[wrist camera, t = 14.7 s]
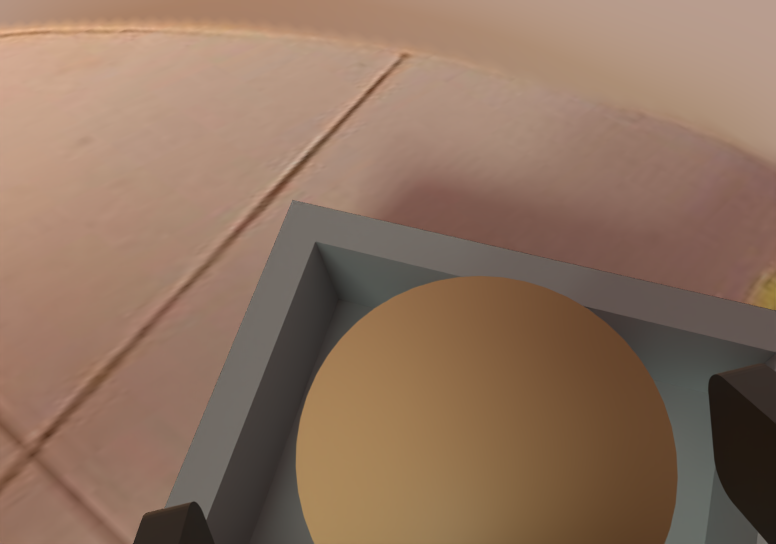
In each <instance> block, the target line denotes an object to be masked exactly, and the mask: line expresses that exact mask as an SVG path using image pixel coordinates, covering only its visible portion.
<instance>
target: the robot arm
mask: <svg viewBox="0 0 776 544" xmlns="http://www.w3.org/2000/svg"><path fill="white" fill-rule="evenodd" d="M708 394H709V406H710V417H711V429H712V440H713V452H714V462H715V467H716V471H717V474H718V477H719V480H720V482H721V484H722V486H723V489H724V491H725V492H726V494H727V496H728V497H729V499H730V500H731V501H732V503H733V504H734V505H735V506H736V507H737V508H738V510H739V511H740V512H741V513H742V514H743V515H744V517H745V518H746V519H747V520H748V521H749V522H750V523H751V525H752V526H753V527H754V528H755V529H756V530H757V531H758V533H759V534H760V535H761V536H762V537H763V538H764V540H765V541H766V542H767V543H768V544H776V372H775V371H774V370H773V369H772V368H770V367H769V366H767V365H766V364H763V363H758V364H754V365H750V366H746V367H742V368H738V369H734V370H730V371H726V372H722V373H718V374H714V375H712V376H711V377H710V379H709V383H708ZM133 544H215V543H214V540H213V538H212V535H211V532H210V530H209V527H208V524H207V522H206V519H205V516H204V514H203V511H202V509H201V507H200V506H199V504H198V503H197V502H195V501H194V502H189V503H185V504H181V505H177V506H173V507H169V508H165V509H161V510H157V511H152V512H148V513H146V514H145V515H144V516H143V518H142V520H141V523H140V526H139V529H138V531H137V534H136V537H135V540H134V543H133Z"/></svg>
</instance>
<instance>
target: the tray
mask: <svg viewBox="0 0 776 544" xmlns="http://www.w3.org/2000/svg"><path fill="white" fill-rule="evenodd" d="M469 276H490V277H504V278H509V279H515V280H520V281H525V282H529V283H532V284H535V285H539V286H542V287H545V288H548V289H550V290H552V291H555V292H557V293H559V294H562V295H564V296H566V297H568V298H570V299H572V300H573V301H575V302H577V303H579V304H580V305H582V306H584V307H585V308H587V309H589V310H590V311H591V312H593V313H594V314H595V315H597V316H598V317H599V318H601V319H602V320H603V321H605V322H606V323H607V324H608V325H609V326H610V327H611V328H612V329H614V330H615V331H616V332H617V333H618V334H619V335H620V336H621V337H622V338H623V339H624V340H625V341H626V342H627V344H628V345H629V346H630V347H631V349H632V350H633V351H634V352H635V353H636V355H637V356H638V357H639V358H640V360H641V361H642V363H643V365H644V366H645V368H646V369H647V371H648V372H649V374H650V376H651V377H652V379H653V380H654V383H655V385H656V387H657V389H658V391H659V393H660V395H661V397H662V400H663V402H664V404H665V407H666V410H667V414H668V417H669V420H670V423H671V426H672V431H673V436H674V441H675V447H676V452H677V471H678V482H677V494H676V505H675V509H674V514H673V518H672V522H671V527H670V531H669V533H668V536H667V538H666V541H665V544H768V543H767V542H766V541H765V540H764V538H763V537H762V536H761V535H760V534H759V533H758V531H757V530H756V529H755V528H754V527H753V526H752V525H751V523H750V522H749V521H748V520H747V519H746V518H745V517H744V515H743V514H742V513H741V512H740V511H739V510H738V508H737V507H736V506H735V505H734V504H733V503H732V501H731V500H730V499H729V497H728V496H727V494H726V492H725V491H724V489H723V486H722V484H721V482H720V480H719V477H718V474H717V471H716V467H715V462H714V452H713V440H712V429H711V417H710V406H709V394H708V383H709V379H710V377H711V376H712V375H714V374H718V373H722V372H726V371H730V370H734V369H738V368H742V367H746V366H750V365H754V364H758V363H763V364H766V365H767V366H769V367H770V368H772V369H773V370H774V371H775V372H776V311H775V310H771V309H766V308H762V307H758V306H753V305H749V304H745V303H740V302H736V301H731V300H727V299H723V298H718V297H714V296H710V295H705V294H701V293H696V292H692V291H688V290H683V289H679V288H675V287H670V286H666V285H662V284H657V283H653V282H648V281H644V280H640V279H635V278H631V277H627V276H622V275H618V274H614V273H609V272H605V271H600V270H596V269H592V268H587V267H583V266H579V265H574V264H570V263H565V262H561V261H557V260H552V259H548V258H544V257H539V256H535V255H531V254H526V253H522V252H517V251H513V250H509V249H504V248H500V247H496V246H491V245H487V244H483V243H478V242H474V241H469V240H465V239H461V238H456V237H452V236H448V235H443V234H439V233H434V232H430V231H426V230H421V229H417V228H413V227H408V226H404V225H400V224H395V223H391V222H386V221H382V220H378V219H373V218H369V217H365V216H360V215H356V214H352V213H347V212H343V211H338V210H334V209H330V208H325V207H321V206H317V205H312V204H308V203H303V202H299V201H295V200H292V203H291V205H290V207H289V210H288V212H287V215H286V217H285V219H284V222H283V224H282V227H281V229H280V232H279V234H278V236H277V239H276V241H275V244H274V246H273V248H272V251H271V253H270V256H269V258H268V260H267V263H266V265H265V268H264V270H263V272H262V275H261V277H260V280H259V282H258V284H257V287H256V289H255V292H254V294H253V296H252V299H251V301H250V304H249V306H248V308H247V311H246V313H245V316H244V318H243V321H242V323H241V325H240V328H239V330H238V333H237V335H236V337H235V340H234V342H233V345H232V347H231V349H230V352H229V354H228V357H227V359H226V361H225V364H224V366H223V369H222V371H221V373H220V376H219V378H218V381H217V383H216V385H215V388H214V390H213V393H212V395H211V397H210V400H209V402H208V405H207V407H206V410H205V412H204V414H203V417H202V419H201V422H200V424H199V426H198V429H197V431H196V434H195V436H194V438H193V441H192V443H191V446H190V448H189V450H188V453H187V455H186V458H185V460H184V462H183V465H182V467H181V470H180V472H179V474H178V477H177V479H176V482H175V484H174V486H173V489H172V491H171V494H170V496H169V499H168V501H167V503H166V506H165V508H169V507H173V506H177V505H181V504H185V503H189V502H194V501H195V502H197V503H198V504H199V506H200V507H201V509H202V511H203V514H204V516H205V519H206V522H207V524H208V527H209V530H210V532H211V535H212V538H213V540H214V543H215V544H314V542H313V540H312V537H311V535H310V532H309V529H308V526H307V524H306V521H305V518H304V515H303V511H302V506H301V502H300V498H299V493H298V485H297V475H296V443H297V436H298V430H299V424H300V418H301V415H302V411H303V408H304V404H305V401H306V398H307V395H308V393H309V390H310V388H311V386H312V383H313V381H314V379H315V377H316V374H317V373H318V371H319V369H320V368H321V366H322V364H323V363H324V361H325V359H326V358H327V356H328V354H329V353H330V352H331V351H332V349H333V348H334V347H335V345H336V344H337V343H338V342H339V340H340V339H341V338H342V337H343V336H344V335H345V334H346V333H347V332H348V331H349V330H350V329H351V328H352V327H353V326H354V325H355V324H356V323H357V322H358V321H359V320H360V319H362V318H363V317H364V316H365V315H367V314H368V313H369V312H371V311H372V310H373V309H374V308H376V307H378V306H379V305H381V304H383V303H384V302H386V301H388V300H389V299H391V298H393V297H394V296H397V295H399V294H401V293H403V292H406V291H408V290H410V289H412V288H415V287H418V286H421V285H425V284H428V283H431V282H434V281H439V280H445V279H450V278H456V277H469ZM165 508H164V509H165Z"/></svg>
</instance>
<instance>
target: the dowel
mask: <svg viewBox="0 0 776 544" xmlns="http://www.w3.org/2000/svg"><path fill="white" fill-rule="evenodd" d="M296 475H297V485H298V493H299V498H300V502H301V506H302V511H303V515H304V518H305V521H306V524H307V526H308V529H309V532H310V535H311V537H312V540H313V542H314V544H665V541H666V538H667V536H668V533H669V531H670V527H671V522H672V518H673V514H674V509H675V505H676V494H677V482H678V471H677V452H676V447H675V441H674V436H673V431H672V426H671V423H670V420H669V417H668V414H667V410H666V407H665V404H664V402H663V400H662V397H661V395H660V393H659V391H658V389H657V387H656V385H655V383H654V380H653V379H652V377H651V376H650V374H649V372H648V371H647V369H646V368H645V366H644V365H643V363H642V361H641V360H640V358H639V357H638V356H637V355H636V353H635V352H634V351H633V350H632V349H631V347H630V346H629V345H628V344H627V342H626V341H625V340H624V339H623V338H622V337H621V336H620V335H619V334H618V333H617V332H616V331H615V330H614V329H612V328H611V327H610V326H609V325H608V324H607V323H606V322H605V321H603V320H602V319H601V318H599V317H598V316H597V315H595V314H594V313H593V312H591V311H590V310H589V309H587V308H585V307H584V306H582V305H580V304H579V303H577V302H575V301H573V300H572V299H570V298H568V297H566V296H564V295H562V294H559V293H557V292H555V291H552V290H550V289H548V288H545V287H542V286H539V285H535V284H532V283H529V282H525V281H520V280H515V279H509V278H504V277H490V276H469V277H456V278H450V279H445V280H439V281H434V282H431V283H428V284H425V285H421V286H418V287H415V288H412V289H410V290H408V291H406V292H403V293H401V294H399V295H397V296H394V297H393V298H391V299H389V300H388V301H386V302H384V303H383V304H381V305H379V306H378V307H376V308H374V309H373V310H372V311H371V312H369V313H368V314H367V315H365V316H364V317H363V318H362V319H360V320H359V321H358V322H357V323H356V324H355V325H354V326H353V327H352V328H351V329H350V330H349V331H348V332H347V333H346V334H345V335H344V336H343V337H342V338H341V339H340V340H339V342H338V343H337V344H336V345H335V347H334V348H333V349H332V351H331V352H330V353H329V354H328V356H327V358H326V359H325V361H324V363H323V364H322V366H321V368H320V369H319V371H318V373H317V374H316V377H315V379H314V381H313V383H312V386H311V388H310V390H309V393H308V395H307V398H306V401H305V404H304V408H303V411H302V415H301V418H300V424H299V430H298V436H297V443H296Z"/></svg>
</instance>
